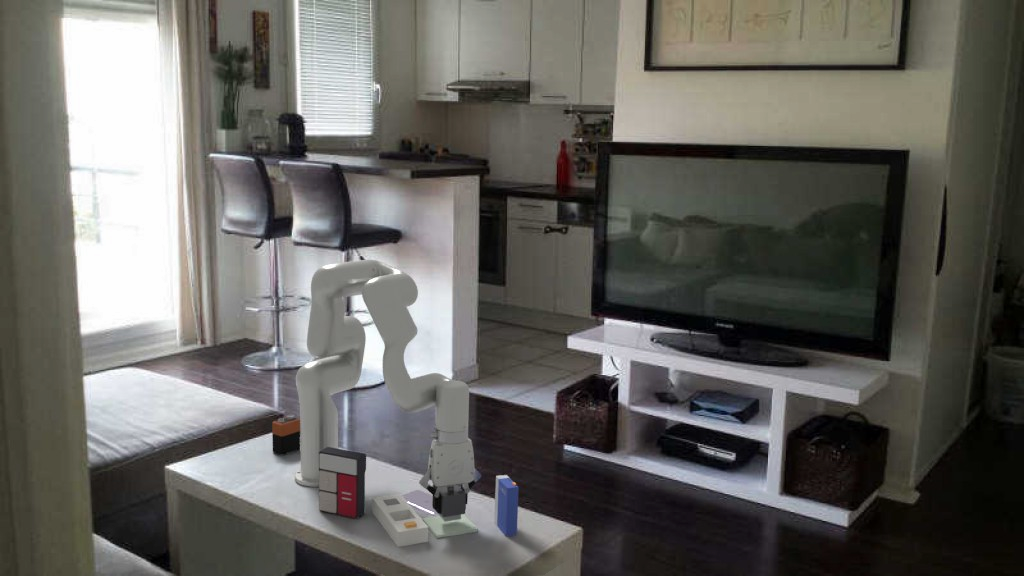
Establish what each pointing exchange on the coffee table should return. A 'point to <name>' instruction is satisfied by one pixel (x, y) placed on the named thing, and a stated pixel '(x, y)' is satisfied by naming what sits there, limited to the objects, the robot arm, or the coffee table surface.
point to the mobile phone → (421, 501)
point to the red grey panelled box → (342, 482)
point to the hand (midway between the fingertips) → (449, 508)
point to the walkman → (506, 505)
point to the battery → (286, 435)
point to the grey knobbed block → (452, 503)
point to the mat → (449, 526)
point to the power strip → (400, 520)
